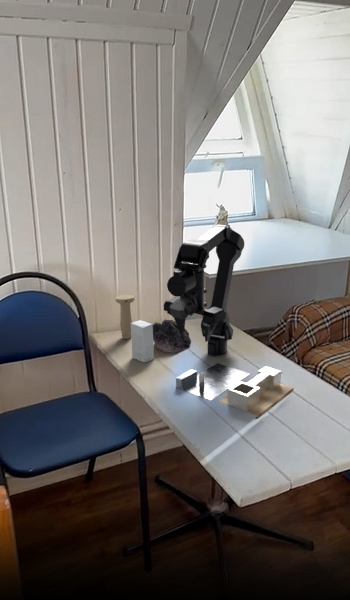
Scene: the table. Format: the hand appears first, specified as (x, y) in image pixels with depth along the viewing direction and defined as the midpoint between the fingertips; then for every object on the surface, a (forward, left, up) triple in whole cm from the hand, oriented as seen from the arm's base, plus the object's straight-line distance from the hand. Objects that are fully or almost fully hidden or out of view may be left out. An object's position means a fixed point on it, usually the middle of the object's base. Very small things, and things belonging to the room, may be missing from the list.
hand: (194, 337), depth 161 cm
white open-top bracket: (+1, +22, -11) cm, 25 cm away
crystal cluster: (-13, -19, -12) cm, 26 cm away
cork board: (0, +22, -12) cm, 25 cm away
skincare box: (+1, -20, -12) cm, 23 cm away
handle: (-8, -36, -12) cm, 39 cm away
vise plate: (+1, +8, -12) cm, 14 cm away
